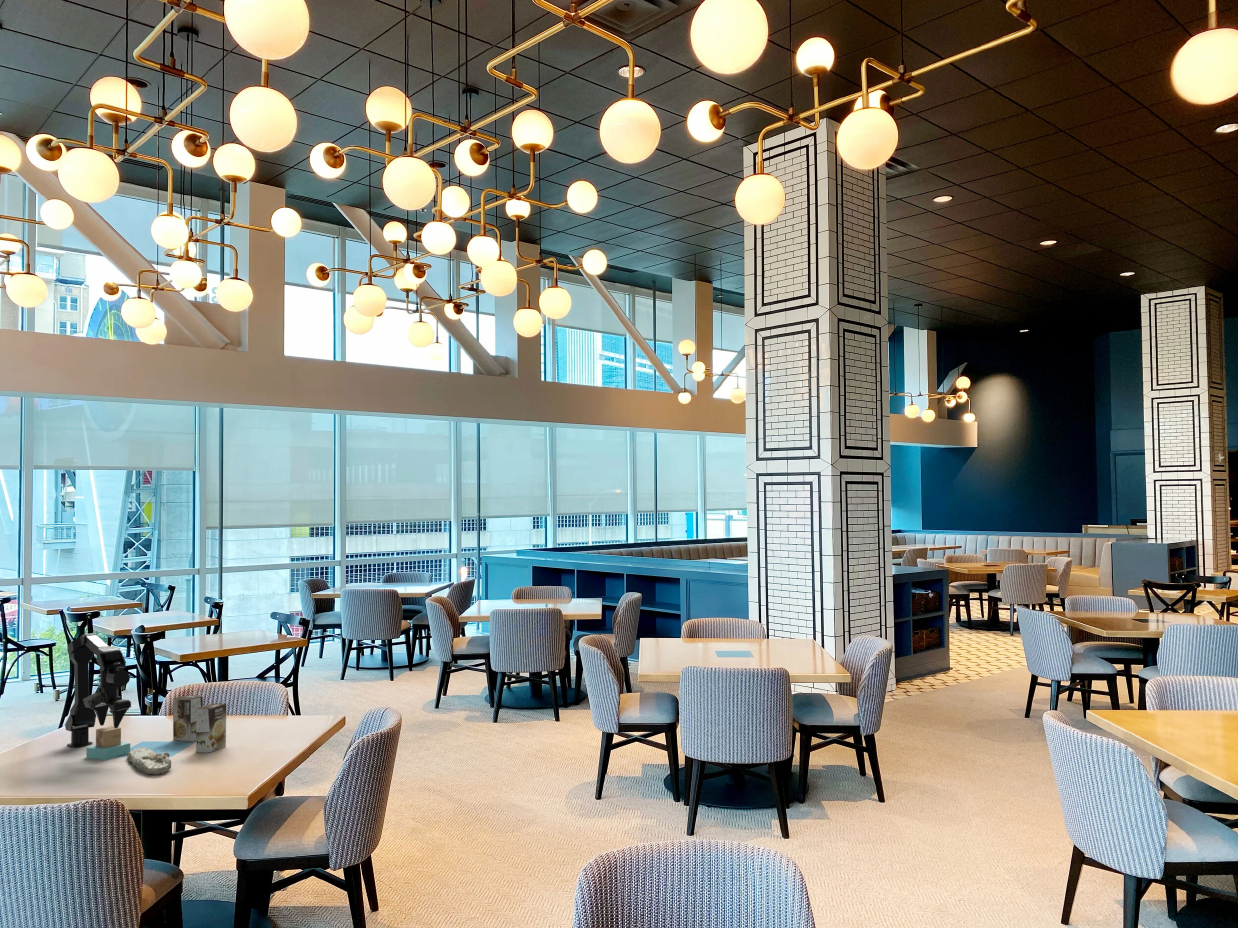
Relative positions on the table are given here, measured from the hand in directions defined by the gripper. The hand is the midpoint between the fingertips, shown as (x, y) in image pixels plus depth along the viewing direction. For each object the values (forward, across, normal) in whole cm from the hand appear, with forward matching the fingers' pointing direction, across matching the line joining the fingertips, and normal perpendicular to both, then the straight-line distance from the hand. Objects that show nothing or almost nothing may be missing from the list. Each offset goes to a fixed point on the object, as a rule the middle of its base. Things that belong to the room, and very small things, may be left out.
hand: (108, 726), depth 326 cm
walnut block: (+7, 0, 0) cm, 7 cm away
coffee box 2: (+11, +27, +23) cm, 37 cm away
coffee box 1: (+10, +5, +28) cm, 30 cm away
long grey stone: (+11, +25, 0) cm, 28 cm away
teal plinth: (+11, 0, 0) cm, 11 cm away
